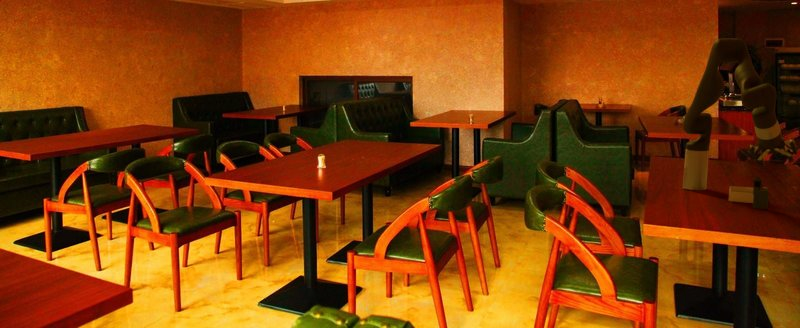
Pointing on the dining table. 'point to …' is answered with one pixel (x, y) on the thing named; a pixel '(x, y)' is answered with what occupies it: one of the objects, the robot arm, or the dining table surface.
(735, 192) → the riser
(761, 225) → the dining table surface
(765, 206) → the vaping device
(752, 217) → the dining table surface
